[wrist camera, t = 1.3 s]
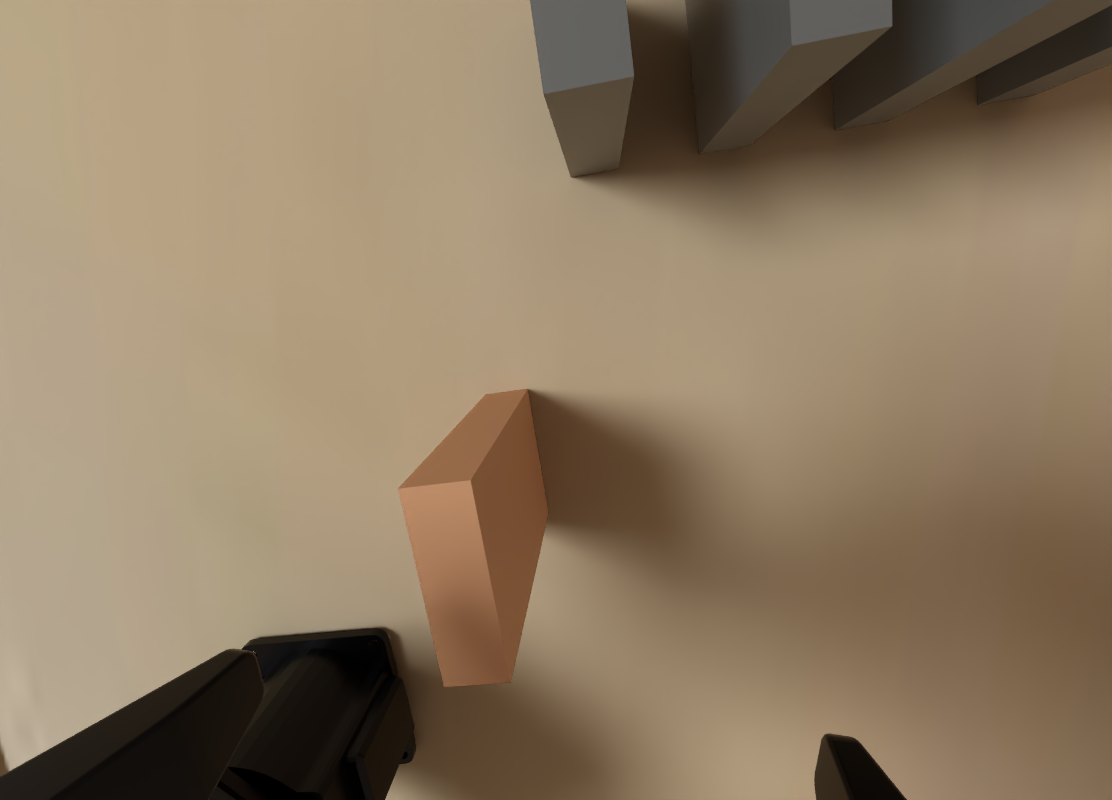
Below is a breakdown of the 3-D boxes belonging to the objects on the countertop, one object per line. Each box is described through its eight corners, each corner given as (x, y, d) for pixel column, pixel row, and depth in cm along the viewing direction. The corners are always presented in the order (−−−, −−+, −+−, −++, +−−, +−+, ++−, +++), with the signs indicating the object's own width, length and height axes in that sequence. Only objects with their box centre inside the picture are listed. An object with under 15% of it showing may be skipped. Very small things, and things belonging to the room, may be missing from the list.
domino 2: (571, 177, 18) (543, 93, 10) (548, 10, 17) (493, -253, 9) (618, 168, 18) (633, 76, 9) (598, 0, 17) (595, -280, 8)
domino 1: (508, 517, 21) (444, 686, 13) (485, 394, 20) (398, 488, 12) (548, 513, 21) (510, 682, 13) (527, 388, 20) (470, 480, 11)
